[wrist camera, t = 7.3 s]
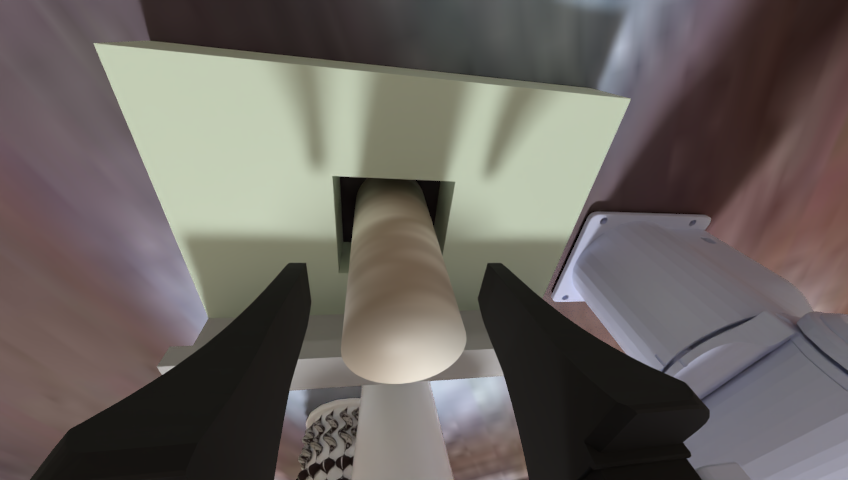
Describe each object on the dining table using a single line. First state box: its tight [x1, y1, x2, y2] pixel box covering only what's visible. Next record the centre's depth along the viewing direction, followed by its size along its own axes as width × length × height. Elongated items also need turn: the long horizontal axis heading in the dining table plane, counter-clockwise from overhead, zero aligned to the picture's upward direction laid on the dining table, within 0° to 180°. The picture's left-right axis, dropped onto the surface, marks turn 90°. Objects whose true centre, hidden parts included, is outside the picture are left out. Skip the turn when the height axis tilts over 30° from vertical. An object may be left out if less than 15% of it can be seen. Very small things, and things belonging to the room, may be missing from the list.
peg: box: [341, 178, 466, 384], centre depth 14 cm, size 4×4×10 cm
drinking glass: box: [351, 381, 454, 480], centre depth 20 cm, size 7×7×15 cm
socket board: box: [94, 41, 631, 391], centre depth 15 cm, size 20×14×7 cm
